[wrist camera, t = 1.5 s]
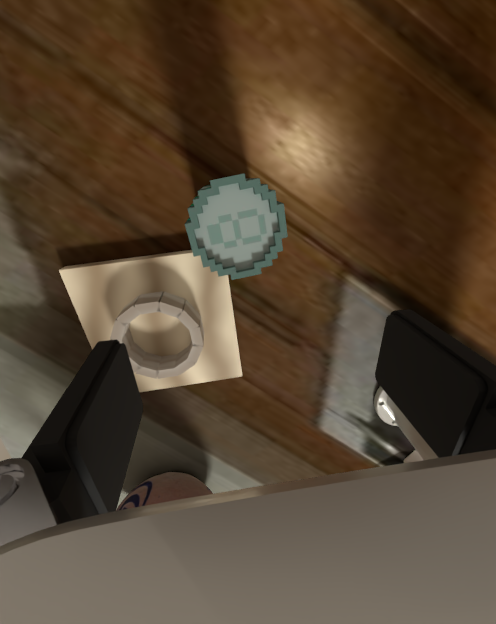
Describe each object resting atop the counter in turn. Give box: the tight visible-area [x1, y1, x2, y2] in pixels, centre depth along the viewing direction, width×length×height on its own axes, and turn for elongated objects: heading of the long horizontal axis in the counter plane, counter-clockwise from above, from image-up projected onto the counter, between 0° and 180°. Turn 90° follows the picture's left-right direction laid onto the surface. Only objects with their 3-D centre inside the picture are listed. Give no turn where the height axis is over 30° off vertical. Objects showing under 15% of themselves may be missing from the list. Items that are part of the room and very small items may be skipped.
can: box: [185, 173, 287, 280], centre depth 24 cm, size 6×6×15 cm
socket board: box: [59, 250, 242, 392], centre depth 34 cm, size 18×18×4 cm
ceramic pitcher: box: [116, 472, 213, 511], centre depth 39 cm, size 18×21×25 cm
